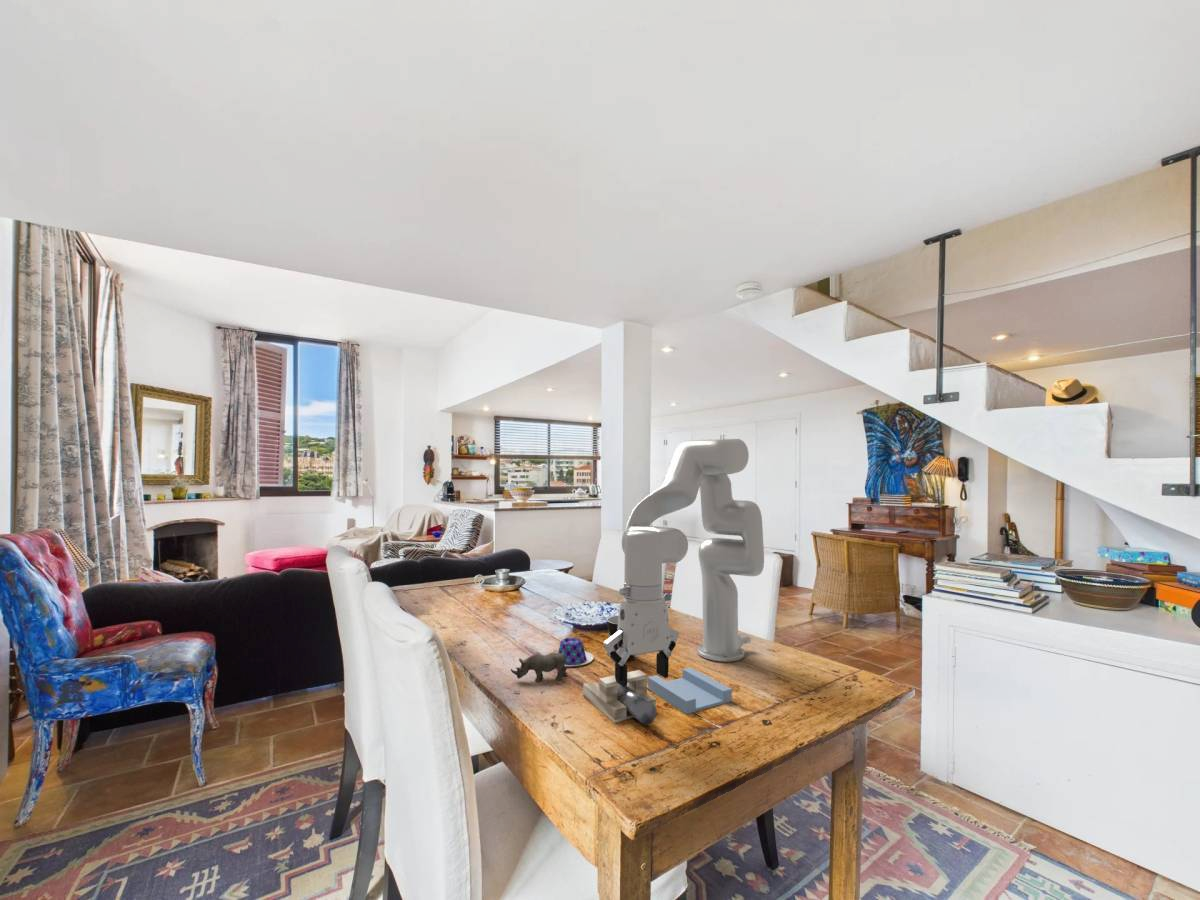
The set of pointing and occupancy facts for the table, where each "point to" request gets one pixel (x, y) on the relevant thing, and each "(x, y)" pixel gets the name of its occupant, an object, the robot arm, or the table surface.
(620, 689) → the axle
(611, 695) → the bracket
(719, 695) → the cradle
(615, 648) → the coffee mug
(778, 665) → the table surface
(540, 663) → the rhino figurine
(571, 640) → the pudding
